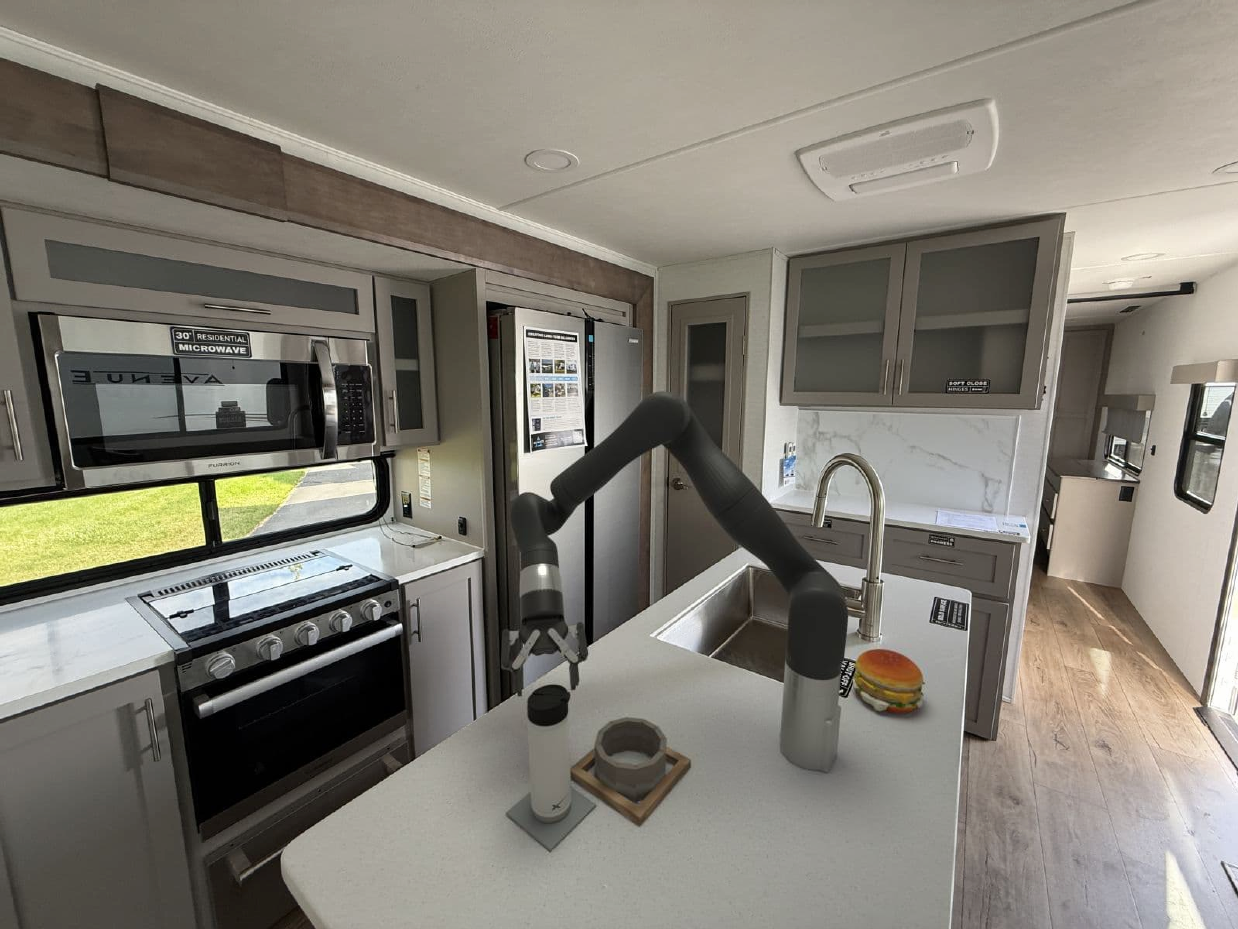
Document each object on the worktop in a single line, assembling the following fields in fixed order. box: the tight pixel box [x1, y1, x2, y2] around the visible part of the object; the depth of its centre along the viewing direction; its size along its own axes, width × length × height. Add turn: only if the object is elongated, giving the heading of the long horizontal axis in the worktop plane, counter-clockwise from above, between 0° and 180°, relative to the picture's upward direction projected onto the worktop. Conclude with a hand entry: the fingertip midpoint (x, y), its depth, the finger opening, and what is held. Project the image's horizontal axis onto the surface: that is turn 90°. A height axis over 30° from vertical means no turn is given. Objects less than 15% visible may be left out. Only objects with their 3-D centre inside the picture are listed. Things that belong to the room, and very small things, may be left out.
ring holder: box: [570, 716, 692, 827], centre depth 87 cm, size 15×15×6 cm
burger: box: [852, 648, 926, 714], centre depth 106 cm, size 13×14×10 cm
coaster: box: [505, 786, 597, 853], centre depth 79 cm, size 10×10×1 cm
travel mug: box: [526, 683, 572, 823], centre depth 78 cm, size 6×7×20 cm
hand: (547, 692), depth 81 cm, fingers open, 8 cm apart
